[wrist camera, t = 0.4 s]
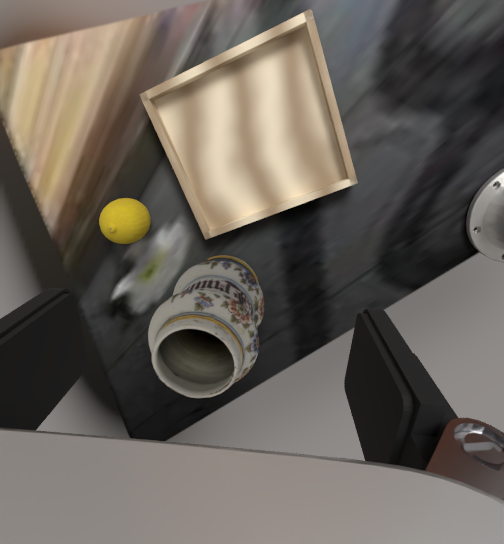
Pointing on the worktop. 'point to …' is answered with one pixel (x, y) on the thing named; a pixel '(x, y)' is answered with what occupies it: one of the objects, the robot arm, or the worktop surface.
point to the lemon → (124, 221)
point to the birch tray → (254, 128)
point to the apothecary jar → (208, 328)
